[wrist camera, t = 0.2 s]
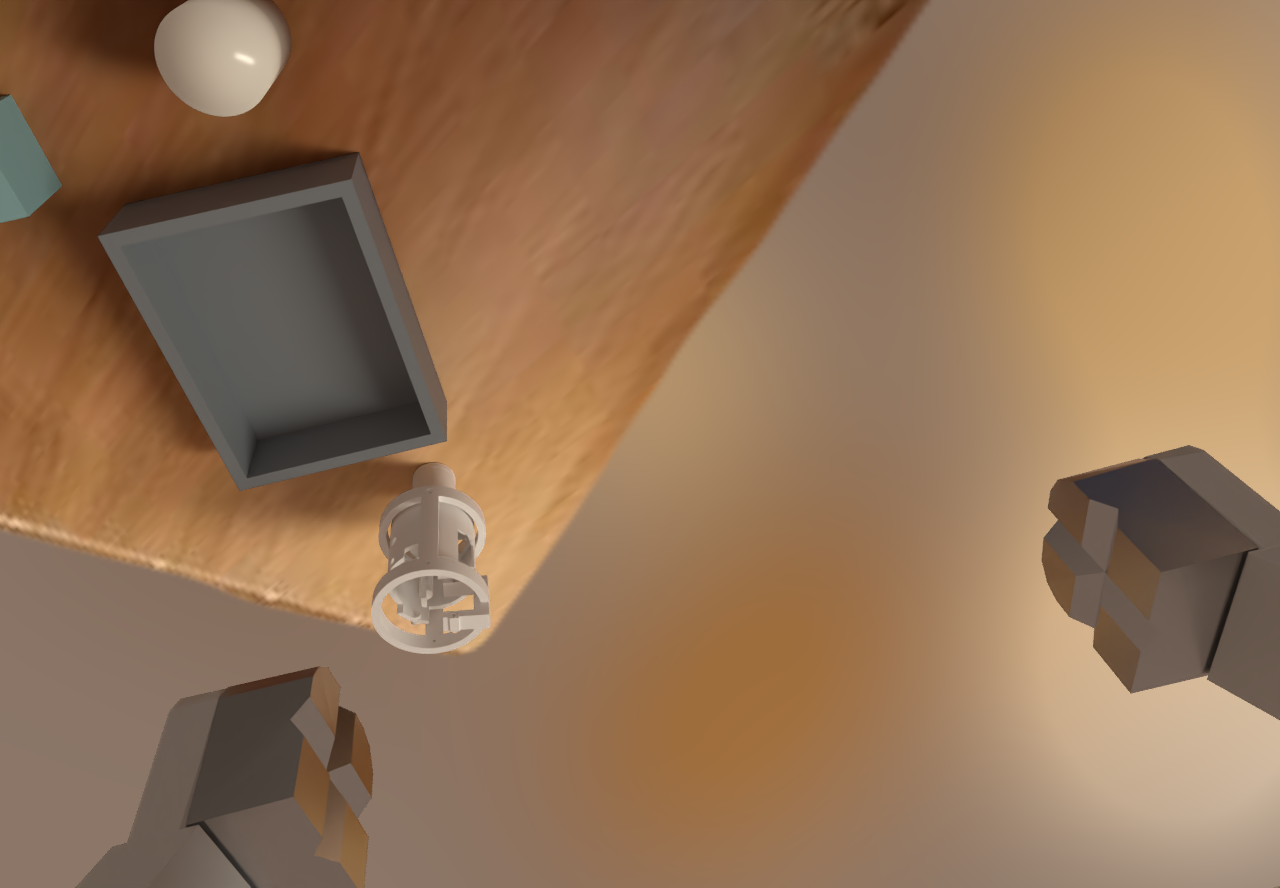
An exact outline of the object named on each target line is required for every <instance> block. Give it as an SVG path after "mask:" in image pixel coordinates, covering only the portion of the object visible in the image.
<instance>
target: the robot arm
mask: <svg viewBox="0 0 1280 888" xmlns="http://www.w3.org/2000/svg"><path fill="white" fill-rule="evenodd" d="M1048 509H1049V510H1050V511H1051V512H1052V513H1053V514H1054V516H1055V517H1056V518H1057V519H1058V521H1057V522H1056V523H1055V525H1054V526H1053V527H1052V528H1051V529H1050V531H1049V532H1048V533H1047V534H1046V536H1045V537H1044V541H1043V552H1042V563H1043V567H1044V571H1045V575H1046V579H1047V583H1048V585H1049V587H1050V589H1051V591H1052V593H1053V595H1054V597H1055V598H1056V600H1057V602H1058V603H1059V604H1060V606H1061V607H1062V608H1063V609H1064V611H1065V612H1066V613H1067V614H1068V616H1069V617H1071V618H1073V619H1075V620H1077V621H1080V622H1082V623H1084V624H1086V625H1089V626H1091V627H1093V628H1094V640H1093V647H1094V649H1095V650H1096V651H1097V652H1098V654H1099V655H1100V656H1101V657H1102V658H1103V660H1104V661H1105V662H1106V663H1107V665H1108V666H1109V667H1110V668H1111V669H1112V671H1113V672H1114V673H1115V675H1116V676H1117V677H1118V678H1119V679H1120V681H1121V682H1122V683H1123V684H1124V686H1125V687H1126V688H1127V689H1128V691H1129V692H1130V693H1135V692H1139V691H1143V690H1147V689H1152V688H1156V687H1160V686H1164V685H1169V684H1173V683H1177V682H1181V681H1185V680H1190V679H1194V678H1198V677H1203V676H1207V675H1208V678H1207V680H1209V681H1211V682H1213V683H1215V684H1216V685H1218V686H1220V687H1222V688H1223V689H1225V690H1227V691H1229V692H1231V693H1232V694H1234V695H1236V696H1238V697H1240V698H1241V699H1243V700H1245V701H1247V702H1248V703H1250V704H1252V705H1254V706H1256V707H1257V708H1259V709H1261V710H1263V711H1265V712H1266V713H1268V714H1270V715H1272V716H1273V717H1275V718H1277V719H1279V720H1280V511H1279V510H1277V509H1276V508H1275V507H1274V506H1272V505H1271V504H1270V503H1269V502H1267V501H1266V500H1265V499H1264V498H1263V497H1261V496H1260V495H1259V494H1258V493H1256V492H1255V491H1253V489H1251V488H1250V487H1249V486H1247V485H1246V484H1245V483H1244V482H1243V481H1241V480H1240V479H1239V478H1238V477H1236V476H1235V475H1234V474H1233V473H1231V472H1230V471H1229V470H1228V469H1226V468H1225V467H1224V466H1223V465H1221V464H1220V463H1219V462H1218V461H1217V460H1215V459H1214V458H1213V457H1212V456H1210V455H1209V454H1208V453H1207V452H1205V451H1204V450H1202V449H1199V448H1196V447H1193V446H1190V445H1188V446H1184V447H1180V448H1177V449H1173V450H1169V451H1165V452H1161V453H1158V454H1154V455H1150V456H1146V457H1144V458H1143V459H1135V460H1131V461H1128V462H1124V463H1120V464H1116V465H1112V466H1108V467H1105V468H1101V469H1097V470H1093V471H1090V472H1086V473H1082V474H1078V475H1074V476H1071V477H1067V478H1063V479H1059V480H1057V482H1056V483H1055V485H1054V486H1053V488H1052V489H1051V491H1050V498H1049V504H1048ZM340 689H341V687H340V685H339V683H338V682H337V680H336V679H335V677H334V676H333V674H332V672H331V671H330V669H329V668H328V667H315V668H310V669H306V670H301V671H297V672H293V673H288V674H284V675H279V676H276V677H271V678H266V679H262V680H258V681H253V682H249V683H244V684H240V685H235V686H231V687H228V688H227V689H222V690H218V691H214V692H209V693H204V694H200V695H195V696H191V697H186V698H182V699H180V700H179V701H178V702H177V703H176V704H175V706H174V707H173V708H172V709H171V710H170V712H169V714H168V717H167V720H166V724H165V726H164V730H163V733H162V736H161V739H160V742H159V745H158V748H157V751H156V755H155V758H154V761H153V764H152V767H151V770H150V773H149V776H148V780H147V782H146V786H145V789H144V792H143V795H142V798H141V801H140V804H139V808H138V811H137V814H136V817H135V820H134V823H133V826H132V829H131V832H130V836H129V838H128V842H127V843H124V844H121V845H117V846H114V847H112V848H111V849H110V850H109V851H108V852H107V853H106V854H105V855H104V856H103V858H102V859H101V860H100V861H99V862H98V863H97V864H96V865H95V866H94V868H93V869H92V870H91V871H90V872H89V873H88V874H87V875H86V876H85V878H84V879H83V880H82V881H81V882H80V883H79V884H78V885H77V886H76V887H75V888H364V886H365V874H366V862H367V849H368V838H369V837H368V835H367V833H366V832H365V830H364V829H363V827H362V825H361V824H360V822H359V820H358V819H357V818H358V817H359V816H360V814H361V813H362V811H363V810H364V808H365V807H366V805H367V804H368V803H369V801H370V800H371V798H372V784H373V769H372V761H371V753H370V746H369V743H368V740H367V737H366V734H365V731H364V728H363V726H362V724H361V722H360V720H359V718H358V717H357V715H356V713H354V712H352V711H349V710H347V709H345V708H343V707H340V706H339V698H340ZM1275 888H1280V886H1279V887H1275Z"/></svg>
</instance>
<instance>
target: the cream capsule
mask: <svg viewBox="0 0 1280 888" xmlns="http://www.w3.org/2000/svg"><path fill="white" fill-rule="evenodd" d="M154 52H155V59H156V63H157V66H158V69H159V71H160V74H161V75H162V77H163V79H164V81H165V82H166V84H167V85H168V87H169V88H170V89H171V90H172V91H173V93H174V94H175V95H176V96H177V97H179V98H180V99H181V100H182V101H183V102H185V103H186V104H188V105H189V106H191V107H192V108H194V109H196V110H198V111H201V112H203V113H206V114H210V115H214V116H235V115H239V114H242V113H245V112H247V111H249V110H250V109H252V108H253V107H255V106H256V105H257V104H258V103H259V102H260V101H261V99H262V98H263V97H264V95H265V94H266V92H267V91H268V90H269V88H270V87H271V85H272V84H273V83H274V81H275V80H276V78H277V77H278V75H279V74H280V73H281V71H282V70H283V68H284V67H285V65H286V63H287V61H288V59H289V56H290V52H291V35H290V30H289V27H288V24H287V21H286V19H285V17H284V15H283V14H282V12H281V10H280V9H279V8H278V6H277V5H276V4H275V3H274V2H273V1H272V0H188V1H186V2H185V3H183V4H182V5H180V6H178V7H177V8H175V9H174V10H172V11H171V12H170V13H168V14H167V15H166V16H165V17H164V19H163V20H162V22H161V23H160V25H159V27H158V29H157V32H156V35H155V42H154Z"/></svg>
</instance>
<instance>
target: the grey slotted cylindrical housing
mask: <svg viewBox="0 0 1280 888" xmlns="http://www.w3.org/2000/svg"><path fill="white" fill-rule="evenodd" d="M473 520H474V521H475V523H476V525H477V528H478V531H477V534H476V537H475V536H474V521H473ZM391 521H392V524H391V536H390V538H389V535H388V531H387V529H388V526H389V524H390V522H391ZM461 539H463V540H462V542H461V543H460V544H458V540H461ZM485 539H486V530H485V519H484V515H483V513H482V510H481V509H480V507H479V506H478V504H477V503H476V502H475V501H474V500H473V499H472V498H470V497H469V496H468V495H466V494H464V493H463V492H461V491H458V490H456V489H455V475H454V473H453V471H452V470H451V469H450V468H449V467H448V466H446V465H444V464H441V463H427V464H424V465H422V466H420V467H419V468H418V469H417V470H416V471H415V472H414V474H413V480H412V489H411V490H408V491H406V492H404V493H402V494H400V495H399V496H397V497H396V498H394V499H393V500H392V501H391V502H390V503H389V504H388V505H387V507H386V508H385V510H384V511H383V514H382V516H381V519H380V527H379V544H380V547H381V550H382V552H383V553H384V555H385V556H386V558H387V559H388V560H389V561H388V573H386V574H385V575H384V576H383V577H382V578H381V580H380V581H379V582H378V584H377V586H376V588H375V590H374V593H373V600H372V610H371V617H372V622H373V625H374V627H375V629H376V631H377V632H378V633H379V635H380V636H381V637H382V638H383V639H384V640H386V641H387V642H389V643H390V644H392V645H394V646H395V647H398V648H400V649H403V650H406V651H409V652H414V653H424V654H433V653H442V652H447V651H451V650H454V649H457V648H459V647H461V646H463V645H465V644H467V643H469V642H470V641H472V640H473V639H474V638H476V637H477V636H478V635H479V634H480V633H481V632H482V630H483V629H488V628H490V600H489V586H488V576H487V575H485V576H480V575H479V573H477V572H476V561H475V559H476V558H477V557H478V555H479V554H480V553H481V551H482V549H483V547H484V544H485ZM388 593H389V594H390V596H391V597H392V599H393V600H394V601H395V602H396V603H397V604H398V605H397V614H398V615H400V616H401V617H403V618H405V619H407V620H410V621H411V624H413V625H418V624H420V623H423V624H426V635H417V634H412V633H409V632H406V631H404V630H401V629H400V628H398V627H396V626H395V625H393V624H392V623H391V622H390V621H389V620H388V619H387V618H386V616H385V614H384V613H383V610H382V607H381V604H382V602H383V600H384V598H385V597H386V595H387V594H388ZM467 595H474V610H461V611H447V612H443V608H446V607H449V606H452V605H454V604H456V603H458V602H460V601H461V600H463V599H464V598H465V597H466V596H467ZM443 625H444V631H450V632H449V633H446V634H443ZM459 630H460V631H459ZM458 631H459V632H458ZM453 632H457V633H453Z"/></svg>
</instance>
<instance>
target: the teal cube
mask: <svg viewBox="0 0 1280 888" xmlns="http://www.w3.org/2000/svg"><path fill="white" fill-rule="evenodd" d="M61 187H62V185H61V183H60V181H59V179H58V177H57V176H56V174H55V172H54V170H53V169H52V167H51V165H50V163H49V162H48V160H47V158H46V156H45V154H44V153H43V151H42V149H41V147H40V146H39V144H38V142H37V140H36V138H35V137H34V135H33V133H32V131H31V130H30V128H29V126H28V124H27V122H26V121H25V119H24V117H23V115H22V114H21V112H20V110H19V108H18V106H17V105H16V103H15V101H14V99H13V98H12V96H11V95H7V96H2V97H0V223H2V222H7V221H11V220H16V219H20V218H25V217H29V216H30V215H31V214H32V213H33V212H34V211H35V210H36V209H38V208H39V207H40V206H41V205H42V204H43V203H44V202H45V201H46V200H47V199H48V198H50V197H51V196H52V195H53V194H54V193H55V192H56V191H57V190H58V189H59V188H61Z"/></svg>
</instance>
